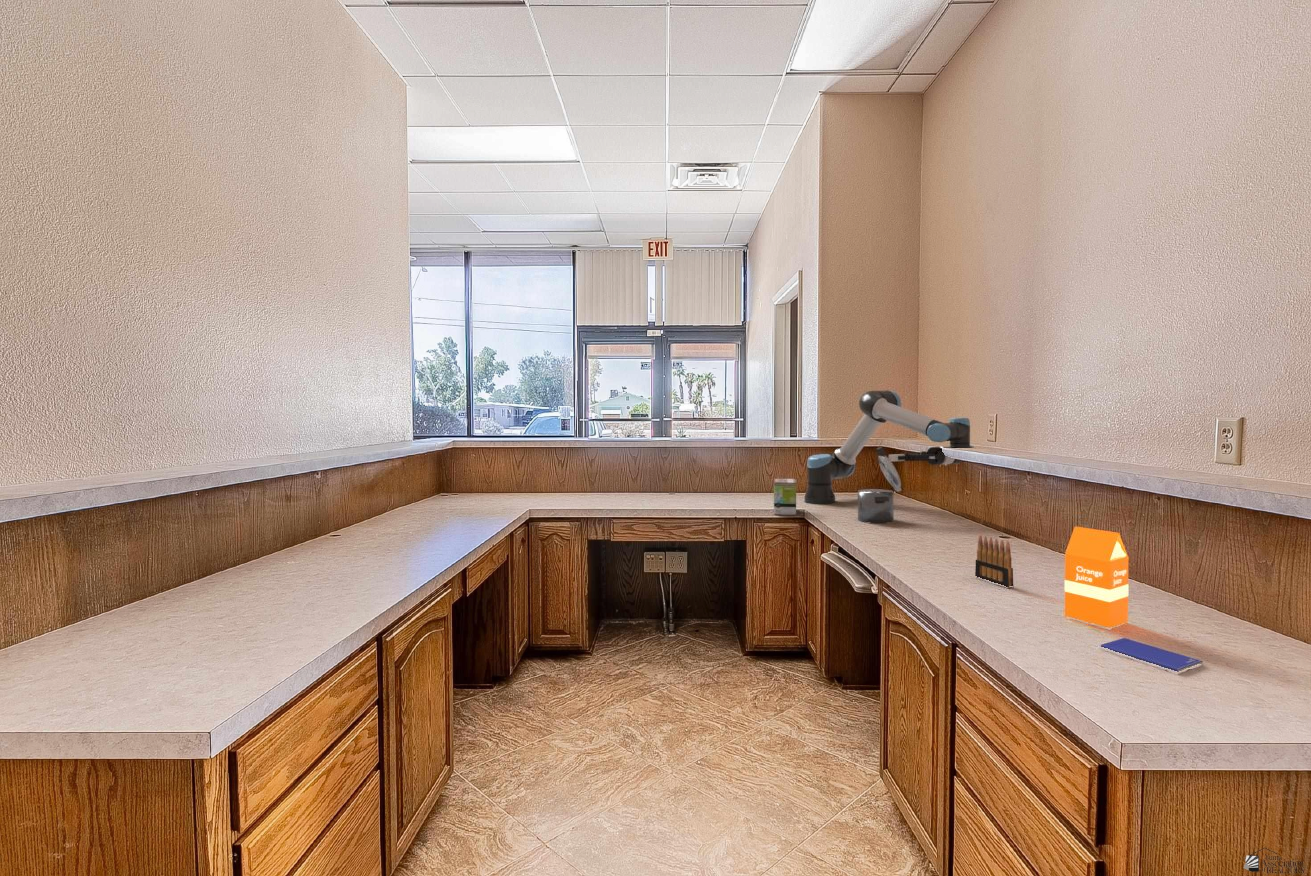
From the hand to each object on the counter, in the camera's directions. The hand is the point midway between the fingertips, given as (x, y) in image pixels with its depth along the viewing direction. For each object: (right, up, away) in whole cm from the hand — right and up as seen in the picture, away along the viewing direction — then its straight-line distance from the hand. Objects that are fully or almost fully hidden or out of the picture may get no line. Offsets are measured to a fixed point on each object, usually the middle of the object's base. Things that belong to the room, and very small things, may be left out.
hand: (889, 458), depth 246 cm
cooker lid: (0, -5, +3) cm, 6 cm away
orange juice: (0, -32, -115) cm, 120 cm away
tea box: (-37, -26, +28) cm, 53 cm away
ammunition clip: (-6, -31, -86) cm, 92 cm away
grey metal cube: (-4, -26, +4) cm, 27 cm away
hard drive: (-4, -33, -134) cm, 138 cm away
